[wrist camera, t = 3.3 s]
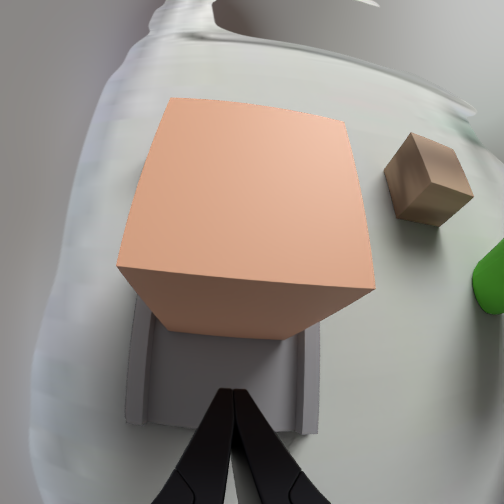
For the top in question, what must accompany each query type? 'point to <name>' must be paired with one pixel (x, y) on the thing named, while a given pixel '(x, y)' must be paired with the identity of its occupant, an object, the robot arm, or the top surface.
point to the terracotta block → (246, 221)
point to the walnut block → (426, 182)
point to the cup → (490, 280)
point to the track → (220, 375)
